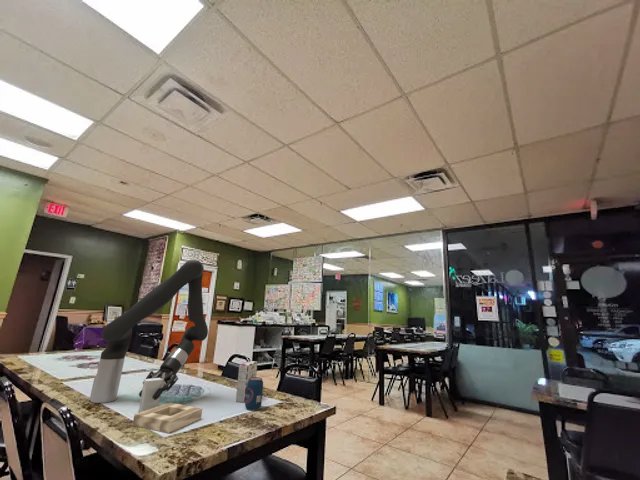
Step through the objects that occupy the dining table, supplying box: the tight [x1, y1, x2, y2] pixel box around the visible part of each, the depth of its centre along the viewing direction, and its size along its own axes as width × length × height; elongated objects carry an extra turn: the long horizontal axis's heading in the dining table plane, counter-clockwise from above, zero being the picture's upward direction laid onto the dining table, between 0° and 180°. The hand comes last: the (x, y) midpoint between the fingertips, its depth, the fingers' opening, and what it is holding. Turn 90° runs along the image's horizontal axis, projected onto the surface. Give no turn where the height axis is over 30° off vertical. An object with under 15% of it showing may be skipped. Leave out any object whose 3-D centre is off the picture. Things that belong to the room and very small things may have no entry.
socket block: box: [131, 402, 203, 434], centre depth 108 cm, size 16×16×4 cm
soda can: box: [244, 376, 264, 411], centre depth 129 cm, size 7×7×12 cm
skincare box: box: [138, 378, 163, 413], centre depth 118 cm, size 6×4×12 cm
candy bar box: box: [235, 360, 258, 404], centre depth 142 cm, size 11×5×16 cm, turn 168°
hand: (147, 397), depth 117 cm, fingers closed on skincare box, 6 cm apart
